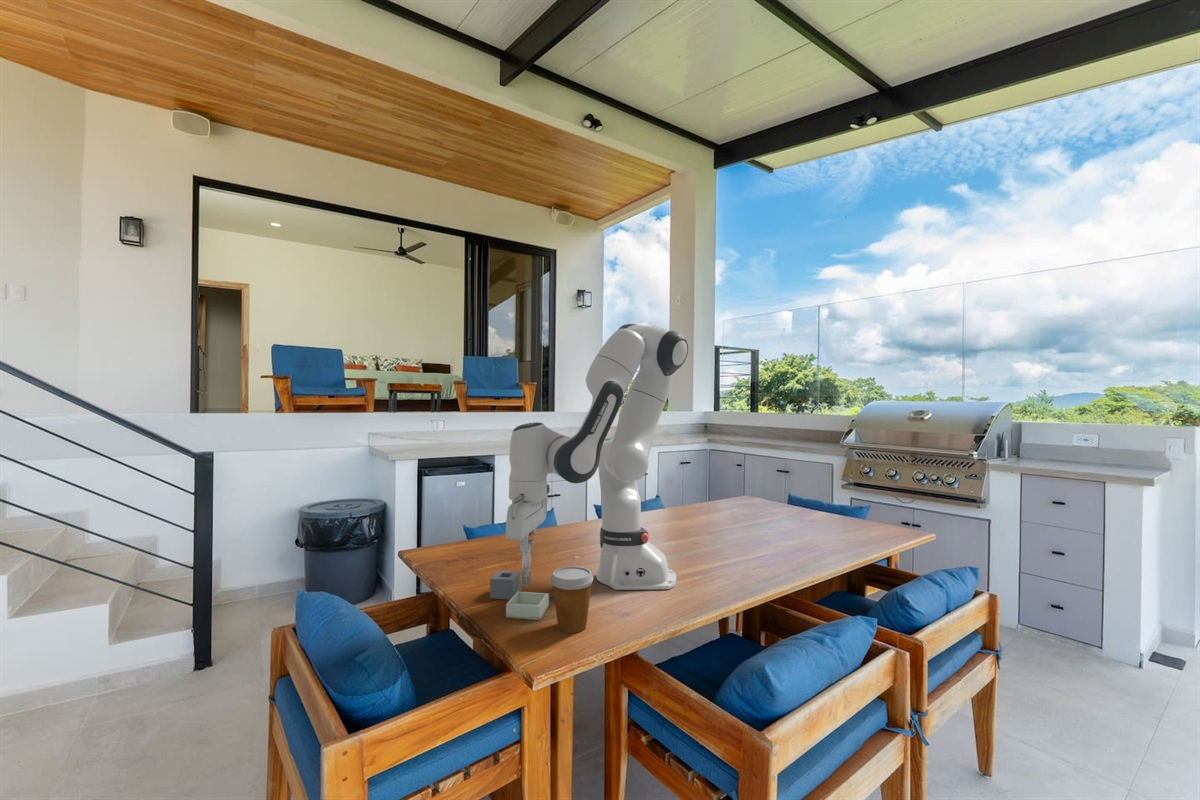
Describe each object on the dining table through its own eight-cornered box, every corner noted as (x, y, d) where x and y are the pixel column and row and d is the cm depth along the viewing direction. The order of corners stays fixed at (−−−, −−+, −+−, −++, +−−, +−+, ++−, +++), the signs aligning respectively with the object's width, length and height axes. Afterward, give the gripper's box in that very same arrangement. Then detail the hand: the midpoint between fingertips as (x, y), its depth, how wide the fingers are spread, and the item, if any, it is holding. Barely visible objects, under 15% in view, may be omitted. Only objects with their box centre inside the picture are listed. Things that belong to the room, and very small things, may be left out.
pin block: (520, 590, 132) (520, 571, 132) (512, 599, 126) (512, 579, 126) (498, 589, 133) (498, 570, 133) (490, 598, 127) (490, 578, 127)
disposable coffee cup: (602, 628, 110) (602, 574, 110) (565, 641, 104) (564, 583, 104) (578, 613, 118) (578, 562, 118) (542, 624, 112) (542, 570, 112)
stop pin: (534, 582, 120) (535, 532, 120) (530, 587, 117) (531, 536, 117) (521, 581, 121) (522, 531, 121) (517, 586, 118) (518, 535, 118)
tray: (548, 605, 122) (548, 593, 122) (539, 619, 114) (539, 606, 114) (517, 603, 124) (517, 591, 124) (506, 617, 116) (506, 604, 116)
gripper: (526, 499, 108) (525, 563, 108) (551, 484, 128) (551, 538, 128) (499, 498, 109) (498, 561, 109) (528, 483, 129) (527, 537, 129)
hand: (527, 549), depth 119 cm, fingers closed on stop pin, 2 cm apart
